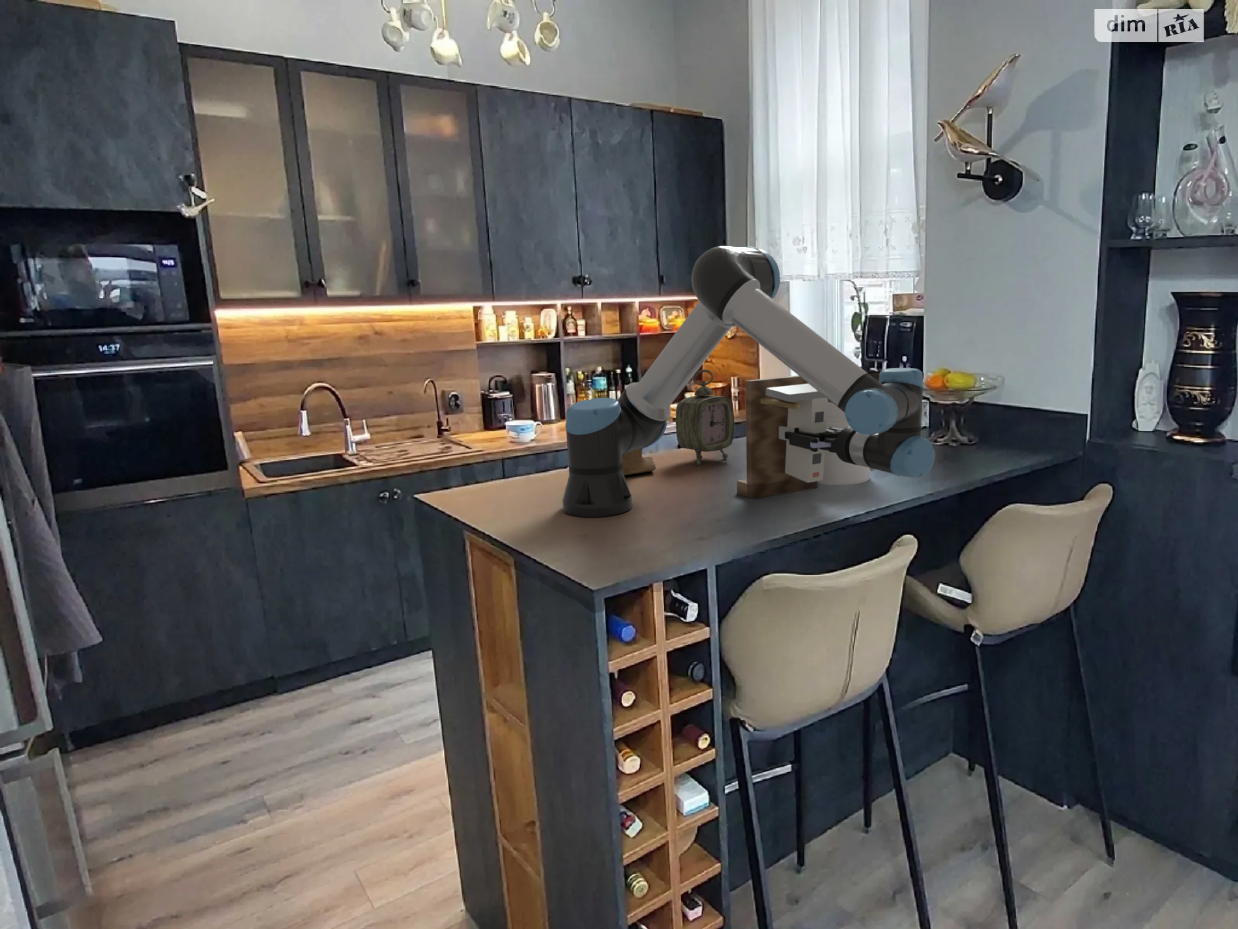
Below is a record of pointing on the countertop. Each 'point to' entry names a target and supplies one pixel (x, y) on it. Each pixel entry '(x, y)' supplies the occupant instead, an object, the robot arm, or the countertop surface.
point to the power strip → (804, 429)
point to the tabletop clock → (705, 421)
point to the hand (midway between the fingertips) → (789, 431)
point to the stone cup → (636, 463)
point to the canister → (833, 465)
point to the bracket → (768, 441)
